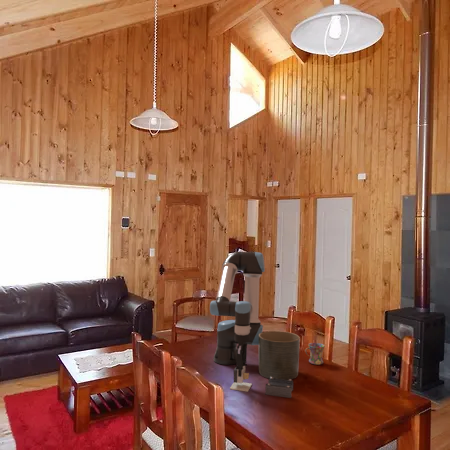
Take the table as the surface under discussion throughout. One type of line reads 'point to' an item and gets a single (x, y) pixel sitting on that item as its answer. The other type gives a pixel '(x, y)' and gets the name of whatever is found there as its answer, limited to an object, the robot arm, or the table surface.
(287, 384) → the shaft channel
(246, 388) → the coaster
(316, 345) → the mug
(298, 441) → the table surface
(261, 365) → the planter
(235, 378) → the plug
